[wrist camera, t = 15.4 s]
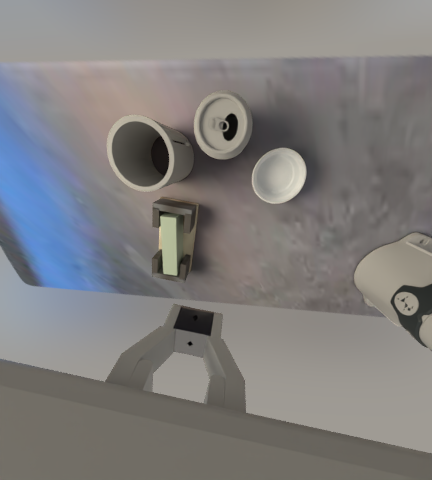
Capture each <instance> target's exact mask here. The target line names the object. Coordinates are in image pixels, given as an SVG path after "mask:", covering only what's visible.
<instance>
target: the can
mask: <svg viewBox="0 0 432 480" xmlns="http://www.w3.org/2000/svg"><path fill="white" fill-rule="evenodd" d="M252 125H253V121H252V115H251V111H250V109H249V107H248V105H247V103H246V101H245V100H244V99H243V98H242V97H240V96H239V95H238V94H236V93H234V92H231V91H217V92H215V93H212V94H210V95H209V96H207V97H206V98H205V99H204V100H203V101H202V102H201V104H200V106H199V107H198V109H197V111H196V115H195V119H194V133H195V137H196V140H197V143H198V144H199V146H200V147H201V149H202V150H203V151H204V152H205V153H206V154H207V155H209V156H211V157H213V158H216V159H230V158H234V157H236V156H237V155H239V154H240V153H241V152H242V150H243V149H244V148H245V146H246V145H247V144H248V142H249V139H250V136H251V134H252Z"/></svg>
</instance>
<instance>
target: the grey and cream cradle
mask: <svg viewBox="0 0 432 480" xmlns="http://www.w3.org/2000/svg"><path fill="white" fill-rule="evenodd" d="M198 208H199V204H197V203H192V202H187V201H181V200H176V199H171V198H165V197H161V198H160V199H159V200H157V201H155V202H154V203H153V227H156V228H159V227H160V229H159V251H158V252H157V253H156V255H155V256H154V257H153V258H152V277H156V278H161V279H166V280H171V281H176V282H181V283H184V282H185V280H186V278H187V275H188V273H189V272H190V271H191V265H192V257H193V249H194V241H195V233H196V224H197V216H198ZM165 212H170V213H175V214H181V215H183V260H182V262H181V265H180V271H179V273H178V275H177V276H175V275H168V274H163V257H162V239H161V221H160V216H161V215H163V214H164V213H165Z"/></svg>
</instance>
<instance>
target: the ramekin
mask: <svg viewBox="0 0 432 480" xmlns="http://www.w3.org/2000/svg"><path fill="white" fill-rule="evenodd" d="M306 175H307V170H306V165H305V162H304V160H303V158H302V157H301V156H300V155H299V154H298V153H297V152H296V151H294V150H292V149H289V148H277V149H274V150H271V151H269V152H267V153H266V154H265V155H263V156H262V157H261V158H260V159H259V161H258V162H257V163H256V165H255V167H254V170H253V173H252V186H253V189H254V191H255V193H256V194H257V195H258V197H259V198H261V199H262V200H264V201H265V202H268V203H273V204H279V203H284V202H286V201H289V200H290V199H292V198H293V197H295V196H296V195H297V194H298V193H299V192H300V190H301V189H302V187H303V185H304V183H305V180H306Z"/></svg>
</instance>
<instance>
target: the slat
mask: <svg viewBox="0 0 432 480" xmlns="http://www.w3.org/2000/svg"><path fill="white" fill-rule="evenodd" d="M160 221H161V239H162V257H163V274H168V275H175V276H177V275H178V273H179V271H180V265H181V262H182V260H183V215H181V214H175V213H170V212H165V213H164V214H163V215H161V216H160Z"/></svg>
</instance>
